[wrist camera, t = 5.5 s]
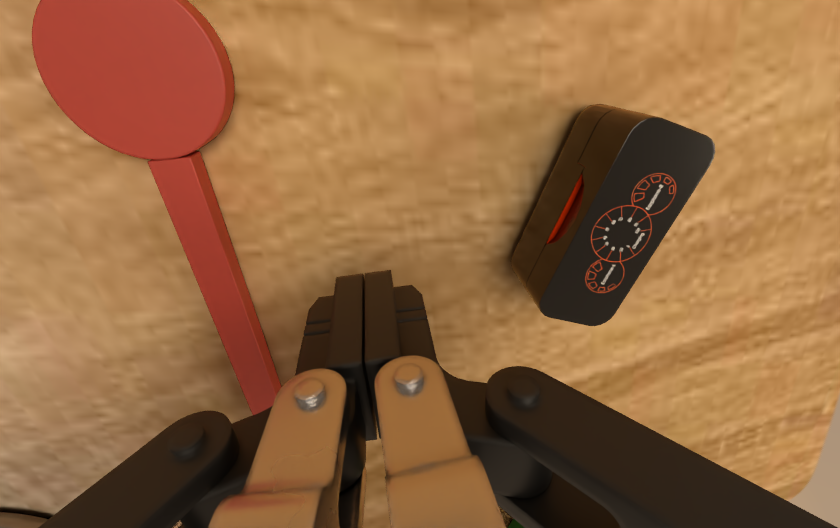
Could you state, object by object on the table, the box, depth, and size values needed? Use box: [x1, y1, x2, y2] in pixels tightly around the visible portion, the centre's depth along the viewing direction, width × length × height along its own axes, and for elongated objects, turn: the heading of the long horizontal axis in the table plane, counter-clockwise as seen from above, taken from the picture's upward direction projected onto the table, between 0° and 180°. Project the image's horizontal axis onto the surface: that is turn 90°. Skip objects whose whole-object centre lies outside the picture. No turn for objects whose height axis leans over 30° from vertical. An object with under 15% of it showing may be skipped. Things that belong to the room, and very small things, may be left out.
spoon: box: [32, 0, 281, 415], centre depth 14 cm, size 4×17×1 cm, turn 4°
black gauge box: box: [511, 104, 715, 326], centre depth 13 cm, size 5×7×3 cm, turn 161°
